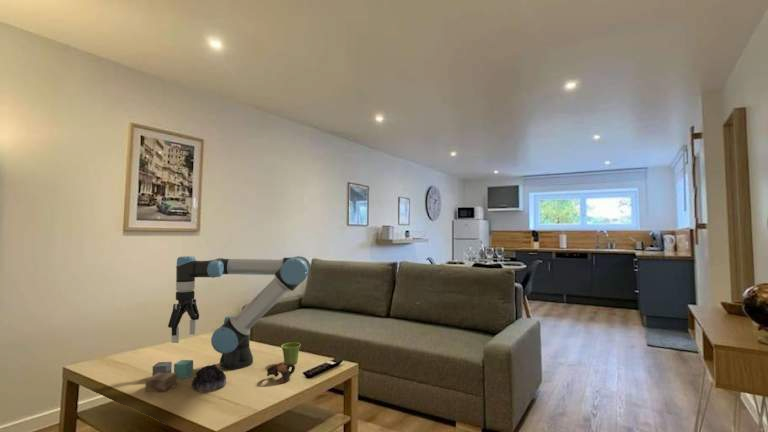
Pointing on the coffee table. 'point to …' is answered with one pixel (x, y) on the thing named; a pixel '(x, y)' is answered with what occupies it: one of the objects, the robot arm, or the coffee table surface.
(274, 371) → the brown animal figurine
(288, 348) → the plant pot
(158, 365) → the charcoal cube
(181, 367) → the teal cube
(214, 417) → the coffee table surface
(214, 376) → the crystal cluster
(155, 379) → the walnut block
